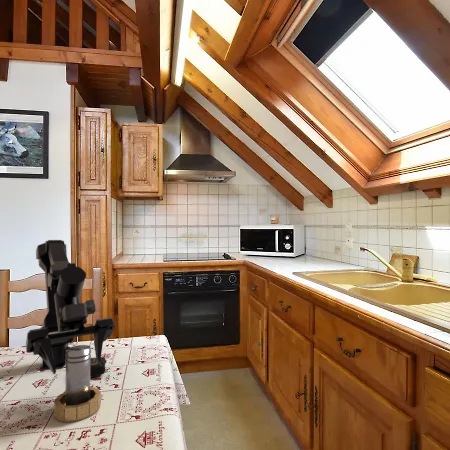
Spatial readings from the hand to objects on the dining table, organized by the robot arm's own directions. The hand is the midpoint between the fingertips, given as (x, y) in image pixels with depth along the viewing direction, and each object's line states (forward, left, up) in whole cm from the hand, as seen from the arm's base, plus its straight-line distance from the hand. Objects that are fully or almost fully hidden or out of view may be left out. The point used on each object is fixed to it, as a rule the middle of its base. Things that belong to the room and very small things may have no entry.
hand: (77, 367), depth 71 cm
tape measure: (-1, +19, -9) cm, 21 cm away
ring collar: (0, 0, -9) cm, 9 cm away
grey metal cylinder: (0, 0, -9) cm, 9 cm away
